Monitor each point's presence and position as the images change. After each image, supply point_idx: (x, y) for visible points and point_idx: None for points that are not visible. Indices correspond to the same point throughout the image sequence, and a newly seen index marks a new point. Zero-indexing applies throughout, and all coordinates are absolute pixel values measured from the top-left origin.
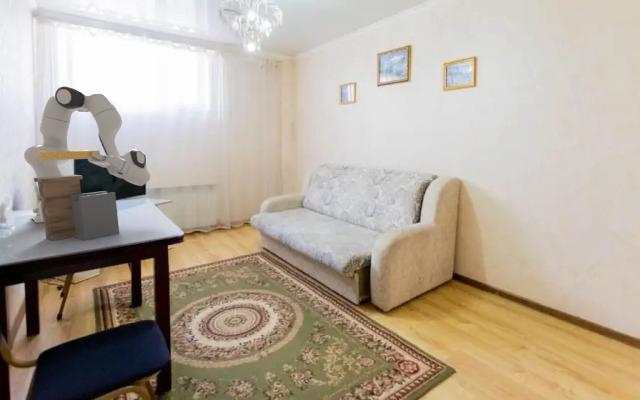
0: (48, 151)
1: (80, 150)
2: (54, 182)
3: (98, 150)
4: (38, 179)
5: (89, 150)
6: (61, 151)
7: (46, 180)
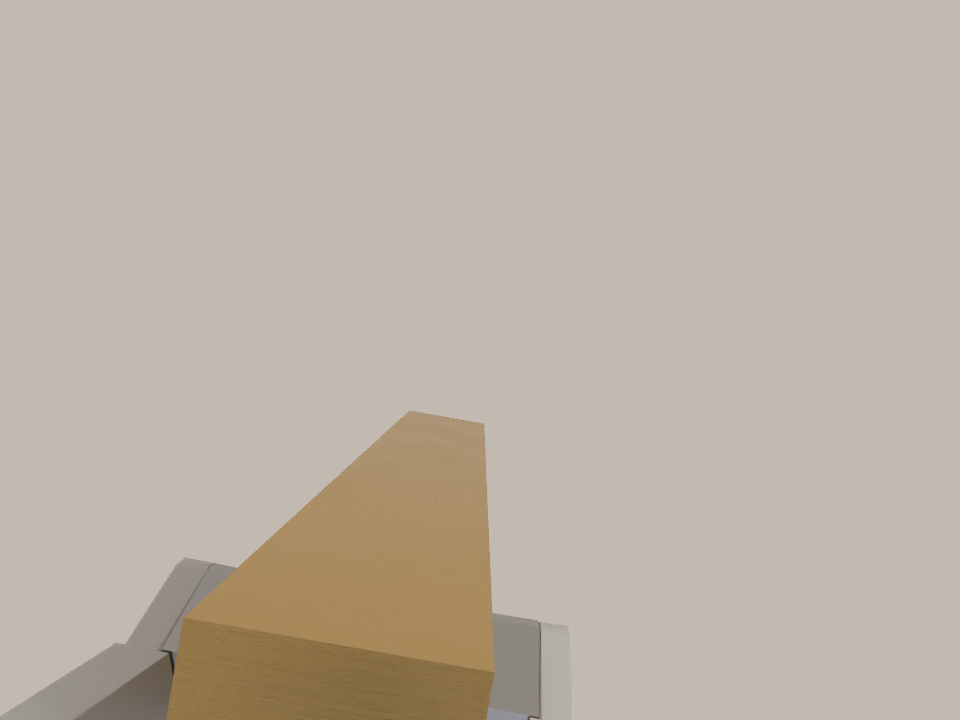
0: (462, 430)
1: (475, 513)
2: None
3: (200, 613)
4: None
5: (320, 524)
6: (387, 433)
7: None
